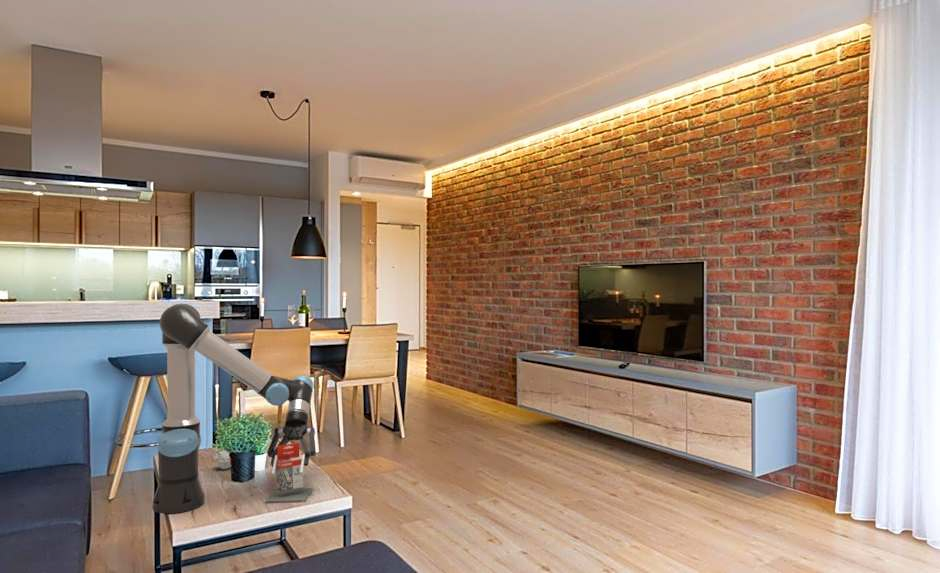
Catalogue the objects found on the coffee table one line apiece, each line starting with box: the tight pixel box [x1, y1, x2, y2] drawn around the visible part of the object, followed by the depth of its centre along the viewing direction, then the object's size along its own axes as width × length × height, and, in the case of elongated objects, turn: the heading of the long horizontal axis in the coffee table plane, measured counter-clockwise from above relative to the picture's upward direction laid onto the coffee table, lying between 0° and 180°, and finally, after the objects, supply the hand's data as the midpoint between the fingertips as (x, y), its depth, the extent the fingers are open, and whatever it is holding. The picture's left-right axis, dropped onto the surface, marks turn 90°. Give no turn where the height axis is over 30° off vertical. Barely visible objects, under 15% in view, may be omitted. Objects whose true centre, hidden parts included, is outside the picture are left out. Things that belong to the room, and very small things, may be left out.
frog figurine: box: [214, 450, 231, 470], centre depth 234 cm, size 6×7×7 cm
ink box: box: [276, 442, 304, 492], centre depth 203 cm, size 4×8×15 cm, turn 123°
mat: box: [264, 487, 314, 504], centre depth 203 cm, size 13×12×1 cm
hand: (287, 474), depth 200 cm, fingers closed on ink box, 8 cm apart
